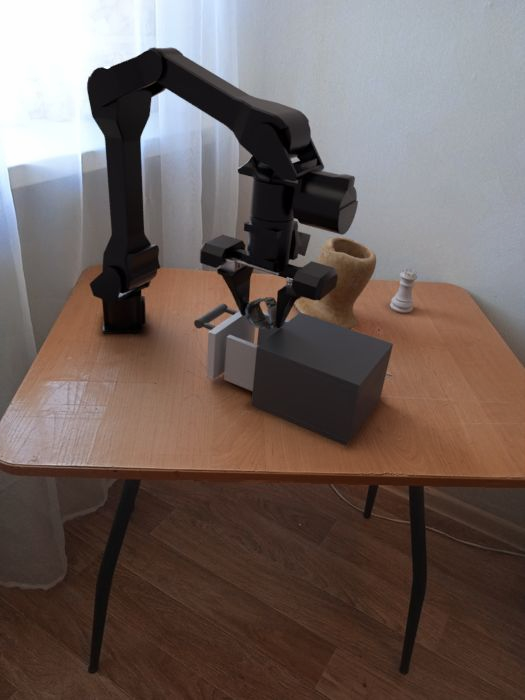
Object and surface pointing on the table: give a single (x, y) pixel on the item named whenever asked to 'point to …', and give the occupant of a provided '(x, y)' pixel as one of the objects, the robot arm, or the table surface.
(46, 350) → the table surface
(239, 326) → the drawer
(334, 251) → the stone cup
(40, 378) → the table surface
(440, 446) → the table surface
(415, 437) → the table surface
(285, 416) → the cabinet
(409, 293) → the rook chess piece
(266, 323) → the wristwatch
